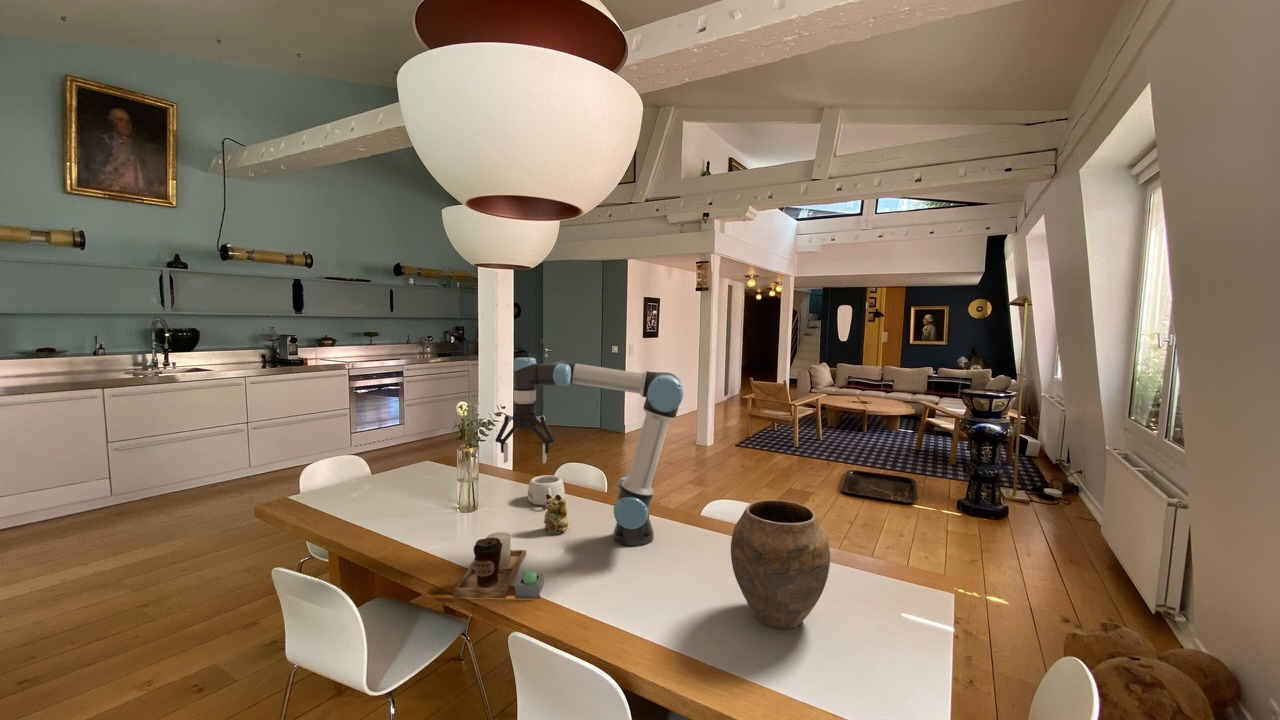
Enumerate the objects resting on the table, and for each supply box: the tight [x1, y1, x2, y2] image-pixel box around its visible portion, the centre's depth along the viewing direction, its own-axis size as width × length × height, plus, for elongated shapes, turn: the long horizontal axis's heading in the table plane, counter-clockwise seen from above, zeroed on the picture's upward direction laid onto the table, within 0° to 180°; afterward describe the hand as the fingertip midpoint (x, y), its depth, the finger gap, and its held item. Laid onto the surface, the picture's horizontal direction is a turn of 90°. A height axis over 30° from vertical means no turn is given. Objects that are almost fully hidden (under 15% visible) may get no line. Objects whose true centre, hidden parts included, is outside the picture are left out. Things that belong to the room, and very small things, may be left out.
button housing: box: [514, 573, 545, 600], centre depth 155 cm, size 7×7×4 cm
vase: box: [730, 499, 831, 630], centre depth 142 cm, size 26×26×30 cm
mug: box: [527, 474, 566, 507], centre depth 233 cm, size 21×17×10 cm
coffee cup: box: [473, 537, 502, 587], centre depth 158 cm, size 9×8×13 cm
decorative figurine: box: [543, 494, 569, 535], centre depth 201 cm, size 10×8×15 cm
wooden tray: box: [453, 549, 527, 599], centre depth 165 cm, size 15×27×2 cm, turn 179°
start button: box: [522, 569, 538, 583], centre depth 154 cm, size 4×4×5 cm
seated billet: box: [486, 531, 512, 568], centre depth 171 cm, size 8×8×9 cm
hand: (525, 462), depth 182 cm, fingers open, 13 cm apart
